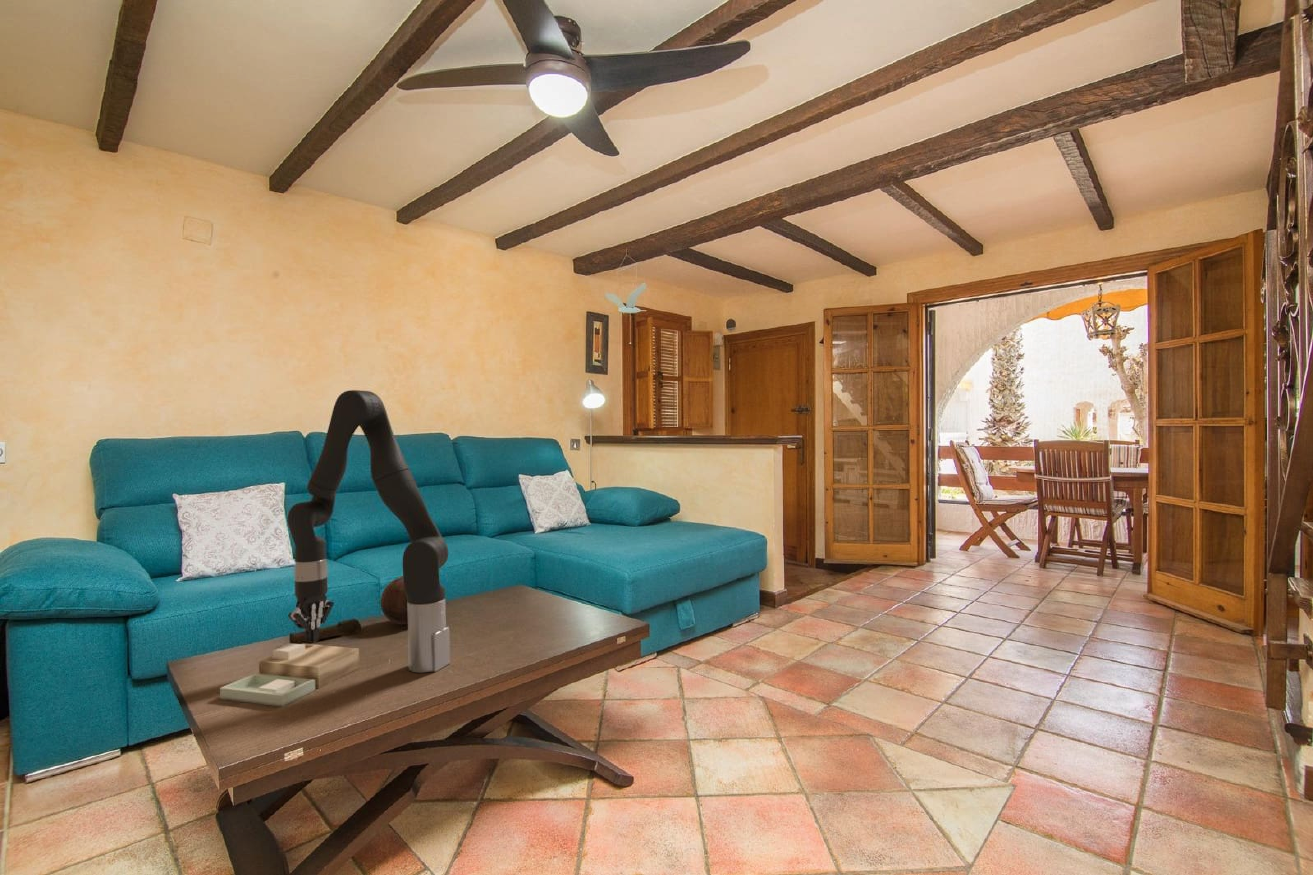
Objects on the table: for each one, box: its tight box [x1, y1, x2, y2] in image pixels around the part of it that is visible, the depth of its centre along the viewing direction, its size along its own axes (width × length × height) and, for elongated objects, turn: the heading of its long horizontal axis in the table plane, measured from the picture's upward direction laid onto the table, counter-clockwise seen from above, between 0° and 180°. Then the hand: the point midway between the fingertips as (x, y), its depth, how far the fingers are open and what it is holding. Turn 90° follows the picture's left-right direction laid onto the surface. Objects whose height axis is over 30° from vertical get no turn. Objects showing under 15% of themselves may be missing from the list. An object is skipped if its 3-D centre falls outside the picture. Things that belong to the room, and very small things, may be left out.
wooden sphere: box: [380, 576, 408, 625], centre depth 194 cm, size 15×15×15 cm
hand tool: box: [288, 618, 362, 644], centre depth 180 cm, size 19×4×5 cm, turn 128°
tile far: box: [272, 642, 305, 660], centre depth 153 cm, size 5×5×2 cm
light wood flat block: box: [258, 643, 360, 689], centre depth 153 cm, size 18×13×5 cm
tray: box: [219, 672, 316, 708], centre depth 141 cm, size 18×9×2 cm, turn 74°
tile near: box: [259, 679, 295, 693], centre depth 141 cm, size 5×5×2 cm
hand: (312, 642), depth 160 cm, fingers closed
